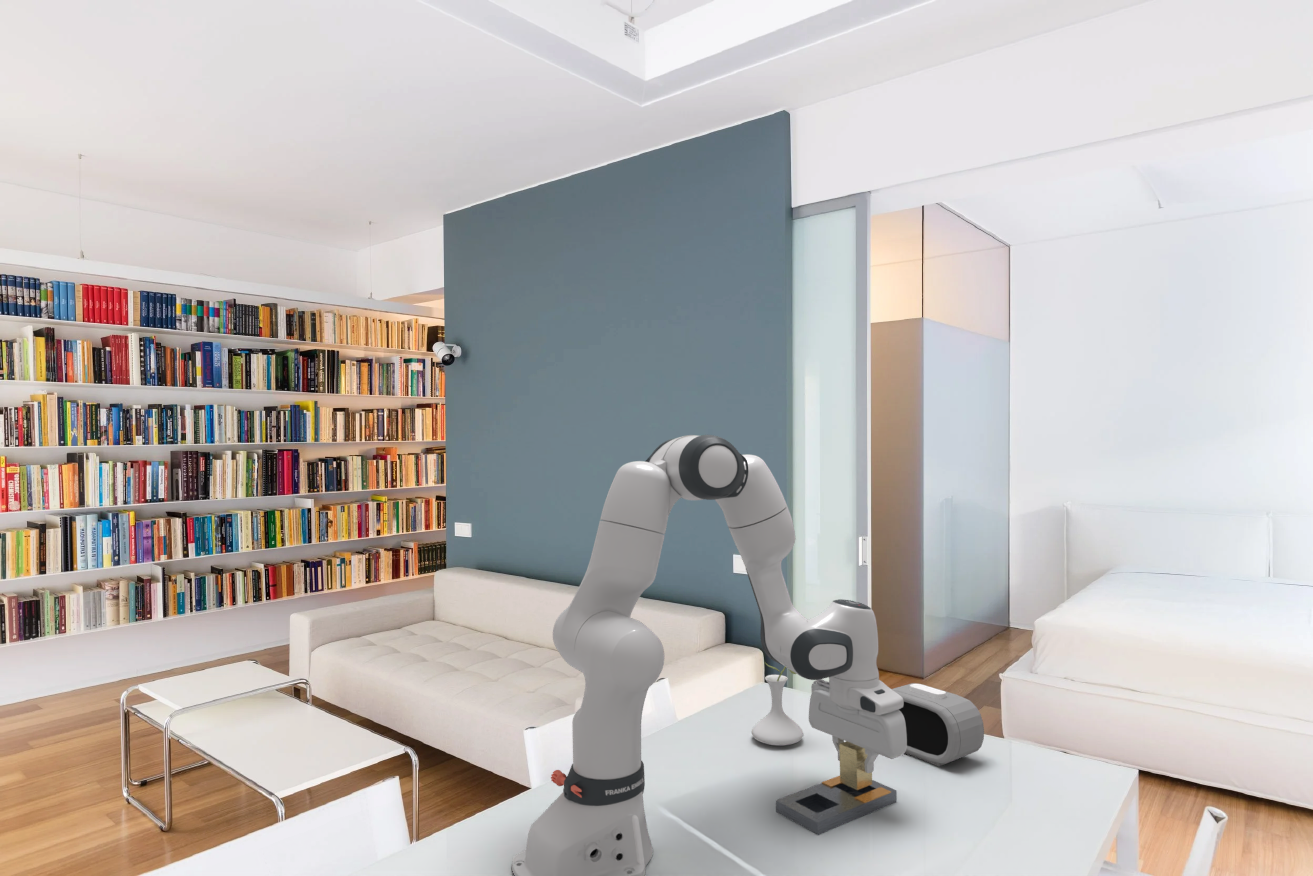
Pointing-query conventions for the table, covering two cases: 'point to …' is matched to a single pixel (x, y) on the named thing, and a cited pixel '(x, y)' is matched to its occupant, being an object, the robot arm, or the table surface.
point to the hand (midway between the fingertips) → (855, 766)
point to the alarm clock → (939, 724)
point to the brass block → (853, 766)
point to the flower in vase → (777, 717)
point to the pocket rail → (833, 804)
